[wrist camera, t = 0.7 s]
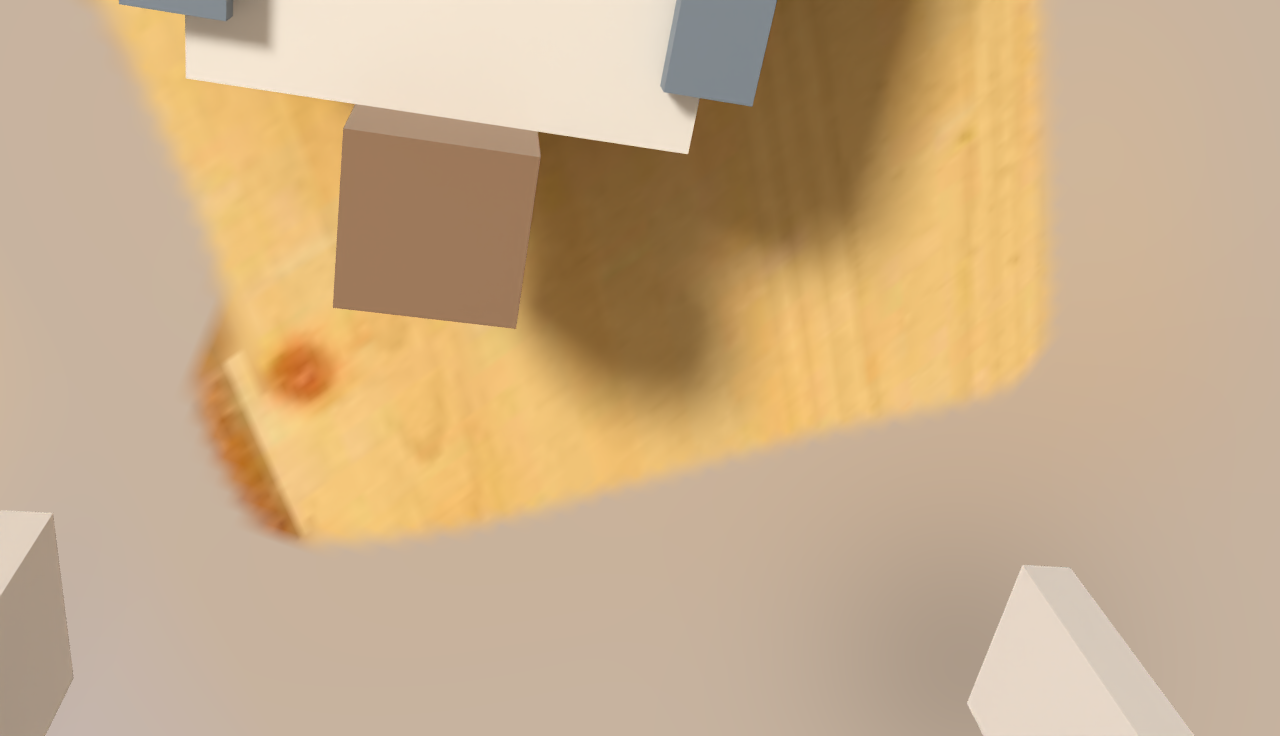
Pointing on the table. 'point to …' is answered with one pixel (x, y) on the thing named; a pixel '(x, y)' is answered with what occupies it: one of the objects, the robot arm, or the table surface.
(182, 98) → the table surface
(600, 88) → the lid
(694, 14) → the grey open box
